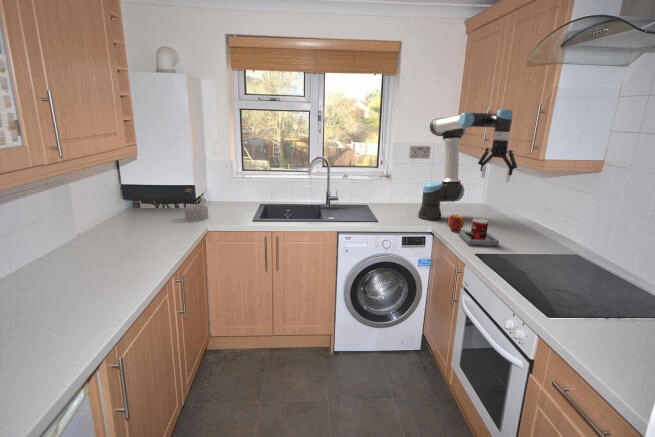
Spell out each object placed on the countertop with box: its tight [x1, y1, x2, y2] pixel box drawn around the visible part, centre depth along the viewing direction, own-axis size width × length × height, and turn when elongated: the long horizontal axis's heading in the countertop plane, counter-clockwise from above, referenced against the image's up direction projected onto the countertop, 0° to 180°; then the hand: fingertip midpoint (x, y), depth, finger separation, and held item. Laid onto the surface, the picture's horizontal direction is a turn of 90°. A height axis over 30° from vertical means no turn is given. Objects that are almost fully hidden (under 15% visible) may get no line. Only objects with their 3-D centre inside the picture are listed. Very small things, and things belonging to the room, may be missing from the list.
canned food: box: [470, 218, 489, 240], centre depth 203 cm, size 8×8×11 cm
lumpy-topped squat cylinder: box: [184, 203, 209, 223], centre depth 229 cm, size 10×13×9 cm
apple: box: [447, 213, 465, 232], centre depth 221 cm, size 9×9×10 cm
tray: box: [459, 230, 500, 248], centre depth 204 cm, size 16×16×3 cm
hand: (494, 179), depth 205 cm, fingers open, 13 cm apart
